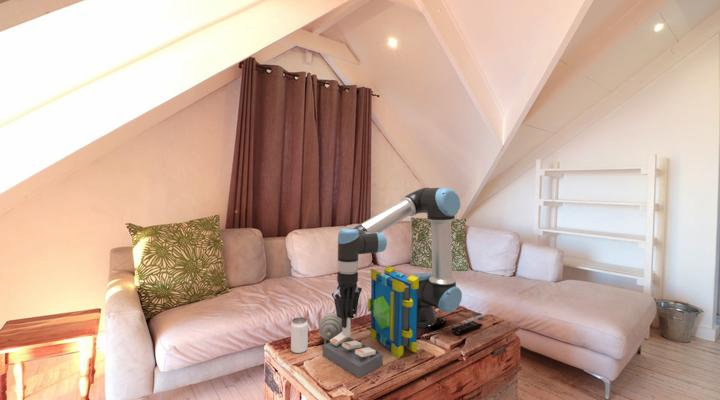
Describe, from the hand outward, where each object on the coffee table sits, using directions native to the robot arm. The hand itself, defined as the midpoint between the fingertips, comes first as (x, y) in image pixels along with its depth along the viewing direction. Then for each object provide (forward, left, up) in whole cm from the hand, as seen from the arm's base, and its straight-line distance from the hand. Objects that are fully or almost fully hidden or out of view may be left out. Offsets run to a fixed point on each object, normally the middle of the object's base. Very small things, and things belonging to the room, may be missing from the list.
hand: (346, 335), depth 120 cm
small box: (-3, +7, -5) cm, 9 cm away
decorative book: (-23, +3, -11) cm, 25 cm away
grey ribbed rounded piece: (-7, -17, -11) cm, 21 cm away
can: (+7, -20, -11) cm, 24 cm away
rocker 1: (-3, -7, -5) cm, 9 cm away
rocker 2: (-3, 0, -5) cm, 5 cm away
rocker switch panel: (-3, 0, -11) cm, 11 cm away
